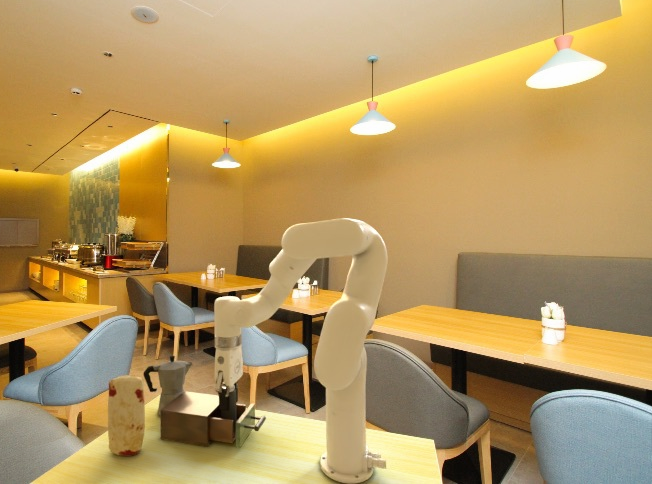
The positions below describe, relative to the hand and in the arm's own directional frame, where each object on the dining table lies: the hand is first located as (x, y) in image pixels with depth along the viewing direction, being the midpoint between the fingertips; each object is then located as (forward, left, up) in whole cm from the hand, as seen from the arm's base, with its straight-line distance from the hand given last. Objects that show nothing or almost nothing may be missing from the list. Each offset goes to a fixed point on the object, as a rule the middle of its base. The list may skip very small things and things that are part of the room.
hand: (228, 405), depth 100 cm
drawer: (-1, 0, -8) cm, 8 cm away
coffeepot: (+25, -8, -9) cm, 27 cm away
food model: (+23, +14, -9) cm, 28 cm away
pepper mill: (0, 0, -7) cm, 7 cm away
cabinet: (+11, 0, -9) cm, 14 cm away
